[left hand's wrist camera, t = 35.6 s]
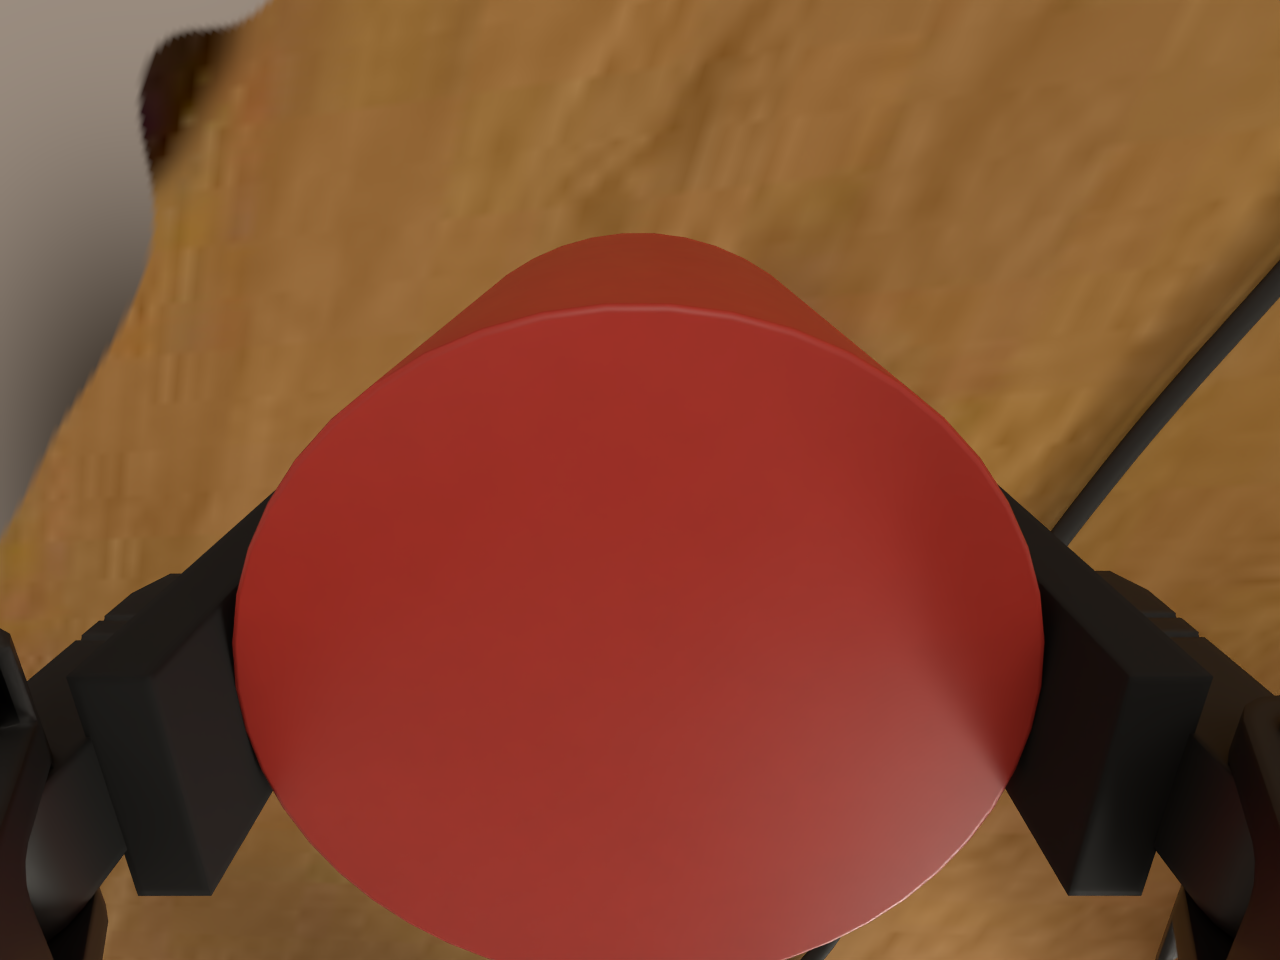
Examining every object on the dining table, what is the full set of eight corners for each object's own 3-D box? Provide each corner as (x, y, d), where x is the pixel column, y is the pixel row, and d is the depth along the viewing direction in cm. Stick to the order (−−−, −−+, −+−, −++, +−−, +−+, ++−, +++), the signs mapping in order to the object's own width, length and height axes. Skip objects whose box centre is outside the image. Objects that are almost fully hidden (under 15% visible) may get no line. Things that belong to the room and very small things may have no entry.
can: (430, 629, 18) (277, 970, 10) (413, 216, 14) (166, 270, 7) (820, 650, 18) (951, 999, 10) (891, 248, 14) (1158, 334, 7)
